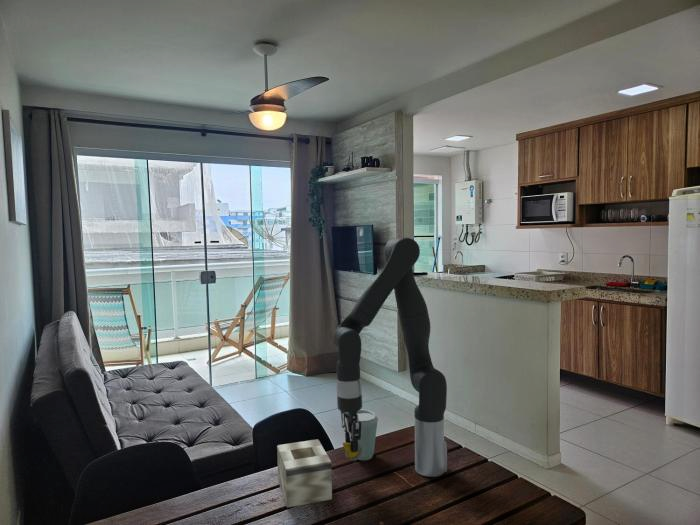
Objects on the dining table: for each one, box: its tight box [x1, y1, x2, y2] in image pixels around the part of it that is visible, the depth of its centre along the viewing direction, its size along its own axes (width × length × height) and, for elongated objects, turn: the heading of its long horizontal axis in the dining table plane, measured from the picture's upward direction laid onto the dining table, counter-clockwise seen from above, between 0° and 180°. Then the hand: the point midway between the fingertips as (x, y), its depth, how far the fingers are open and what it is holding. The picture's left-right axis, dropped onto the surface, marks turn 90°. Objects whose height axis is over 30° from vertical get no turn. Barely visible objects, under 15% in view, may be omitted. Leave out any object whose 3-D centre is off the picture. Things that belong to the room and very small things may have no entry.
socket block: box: [276, 439, 333, 508], centre depth 140 cm, size 13×17×11 cm
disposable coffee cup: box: [355, 408, 379, 461], centre depth 160 cm, size 11×11×15 cm
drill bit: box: [342, 442, 362, 462], centre depth 143 cm, size 5×5×10 cm
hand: (351, 447), depth 143 cm, fingers closed on drill bit, 4 cm apart
